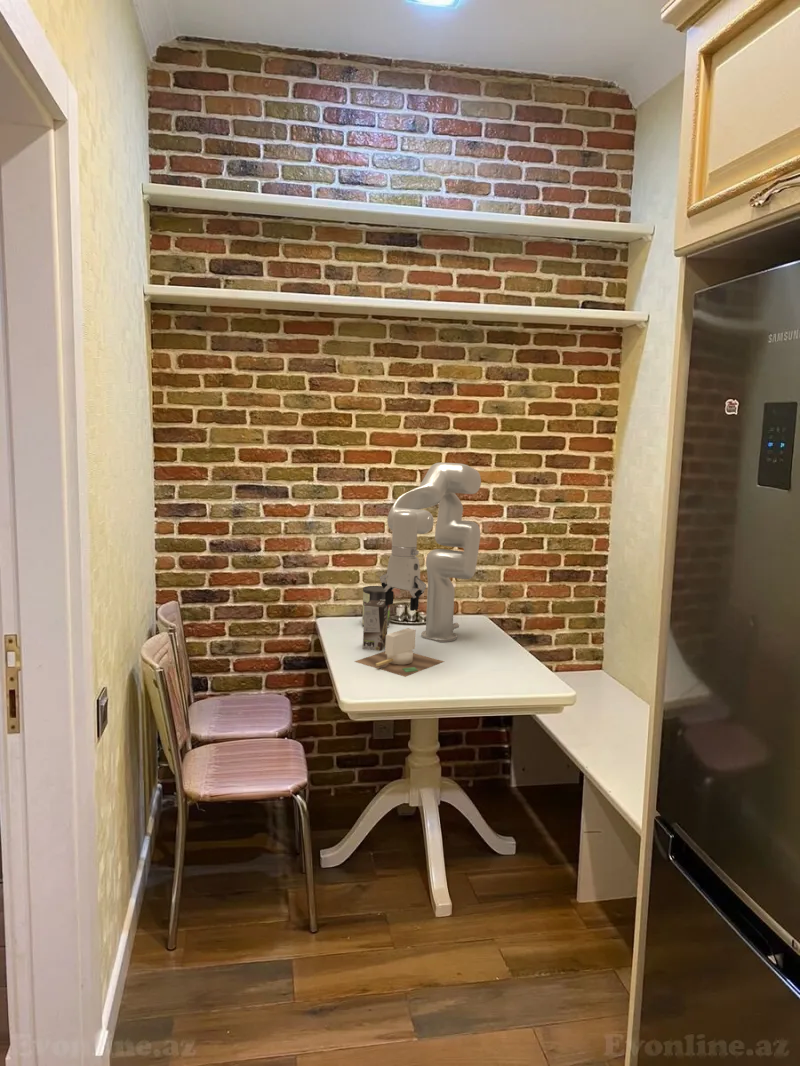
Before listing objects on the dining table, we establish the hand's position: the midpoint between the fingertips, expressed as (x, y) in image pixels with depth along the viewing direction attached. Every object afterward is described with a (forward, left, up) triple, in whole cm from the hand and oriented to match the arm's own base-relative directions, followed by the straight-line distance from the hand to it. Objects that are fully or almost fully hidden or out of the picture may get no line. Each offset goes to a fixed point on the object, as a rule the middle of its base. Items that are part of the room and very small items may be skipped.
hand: (401, 607), depth 231 cm
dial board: (0, 0, -19) cm, 19 cm away
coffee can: (-31, -36, -19) cm, 52 cm away
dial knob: (+2, 0, -17) cm, 17 cm away
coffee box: (-7, -16, -19) cm, 26 cm away
